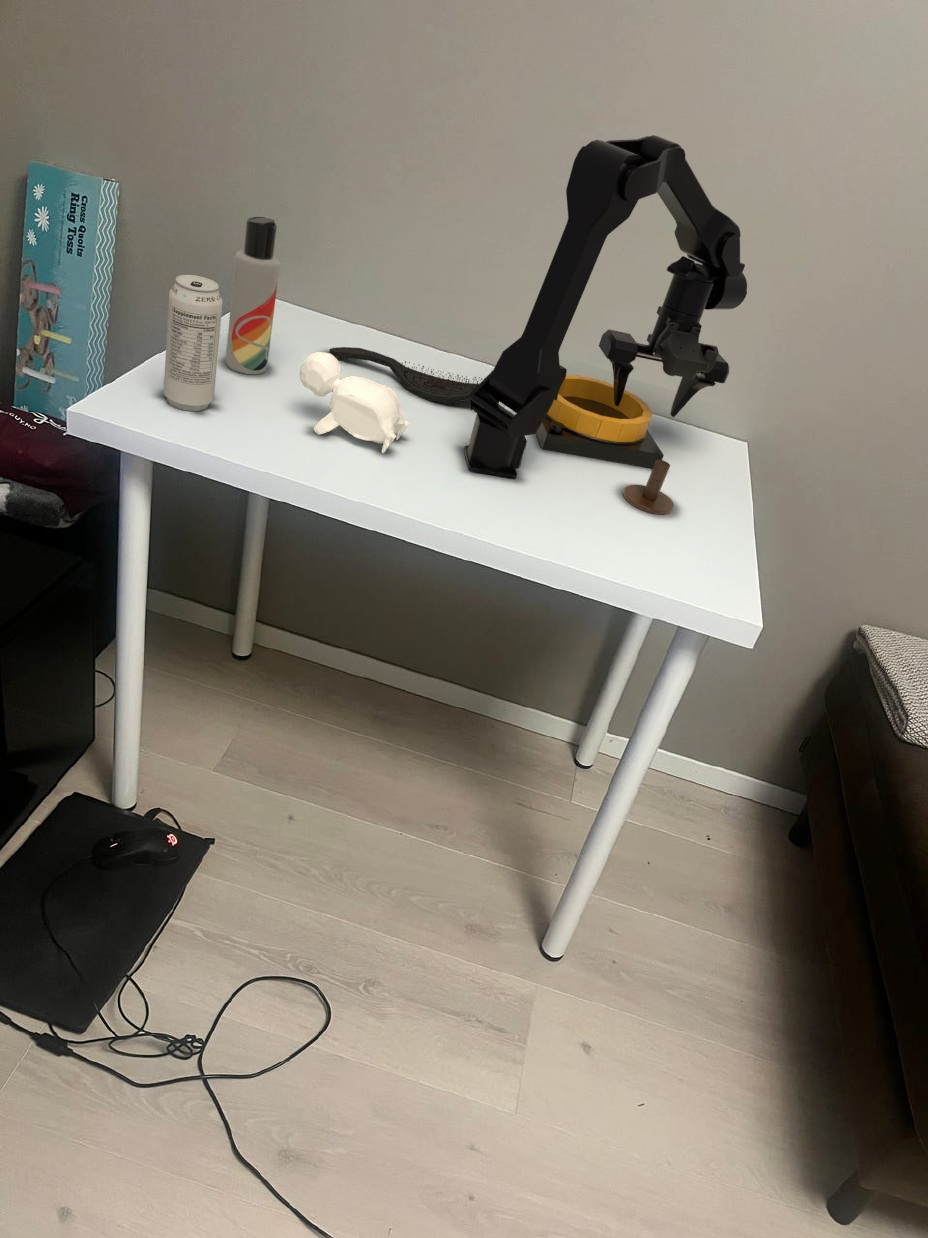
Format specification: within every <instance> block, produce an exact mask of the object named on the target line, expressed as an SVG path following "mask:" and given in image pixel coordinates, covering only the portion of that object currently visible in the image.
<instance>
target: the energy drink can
mask: <svg viewBox="0 0 928 1238" xmlns="http://www.w3.org/2000/svg"><path fill="white" fill-rule="evenodd" d="M219 288H220V286H219V284H218V283H217V282H216V281H214V280H212V279H211V278H207V277H204V276H201V275H200V276H199V275H194V274H193V275H192V274H181V275H177V276H176V277H175V283H174V285H172V287H171V288H170V290H169V292H168V294H169V296H168V308H167V309H168V310H167V325H166V327H167V328H166V341H165V342H166V343H165V361H164V376H163V377H164V378H163V395H164V396H165V397H166V398H167V402H168V403H169V404H170V406H172V407H175V408H177V409H180V410H182V411H187V412H188V411H189V412H199V411H200V412H201V411H204V410H206V409H208V407H209V405H210V404H211V403H213V402H214V399H215V390H216V389H215V388H216V379H217V369H218V359H219V358H218V357H219V347H220V335H221V325H222V313H223V304H224V303H223V298H222V296H221V293H220V291H219Z"/></svg>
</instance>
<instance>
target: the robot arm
mask: <svg viewBox="0 0 928 1238" xmlns="http://www.w3.org/2000/svg"><path fill="white" fill-rule="evenodd" d="M655 194H657V195H658V196H659V197H660V199H661V201H662V203H663V204H664V206H665V207H666V209H667V210H668V212H669V213H670V215H671V217H672V218H673V219H674V221H675V225H676V227H675V229H674V237H675V239H676V242H677V245H678V248H679V249H680V252H682V253H684V254H686V256H687V257H686V256H685V255H684V256H683V255H682V256H681V257H680V258H679V259H678V260H676V261H673V262H671V264H669V265H668V266H667V267H666V271H667V272H668V273H671V274H672V278H671V281H670V283H669V284H670V285H669V286H668V289H667V292H666V295H665V296H664V297H665V298H664V299H663V302H662V305H658V308H657V310H656V314H657V315H658V317H657V319H656V322H655V325H654V327H653V331H652V333H648V335H647V337H646V342H648V343H647V344H644V343H639V342H637V341H636V340H635V338H634V337H633V336H632V334H631V333H629V332H625V331H624V332H623V331H618V330H614V329H610V328H608V329H607V330H606V331H605V332H603V334H602V335H601V338H600V341H599V343H598V347H599V349H600V350H601V352H602V354H603V355H604V357H605V358H606V359H607V360H609V362H610V363H611V365H612V366H611V367H612V374H613V385H614V404H615V405H616V406H619V404H620V402H621V399H622V397H623V393H624V390H626V386H627V382H628V378H629V376H630V374H631V373H632V372H633V370H635V367H634V366H633V364H632V363H633V362H634V361H636V359H637V358H640V359H645V360H648V361H649V360H651V361H655V362H660V363H662V370H663V372H664V373H665V374H666V375H667V376H670V377H675V376H676V377H681V380H680V382H679V385H678V387H677V391H676V393H675V397H674V399H673V402H672V405H671V409H670V414H669V415H670V416H671V417H672V418H675V417H676V416H677V415H679V413H680V412H681V410H682V409H683V408H684V407H685V406H686V405H687V403H688V402H689V401H690V400H691V399H692V398H693V397H694V396H695V395H696V394H697V393H698V392H699V391H701V390H702V389H705V388H707V387H714V386H716V385H717V384H718V383H719V384H726V381H727V380H728V377H729V374H730V365H729V363H728V362H727V360H726V359H724V357H723V356H722V355H721V354H720V351H719V348H718V346H717V345H712V344H708V343H702V342H699V340H700V334H701V332H702V327H703V325H701V323H700V321H701V319H702V317H703V314H704V311H705V310H707V311H709V310H710V311H712V310H713V311H715V310H733V309H735V308H738V307H739V306H740V305H741V304H742V303H743V302H744V301H745V299H746V297H747V294H748V291H747V290H748V282H747V278H746V276H745V274H744V273H743V271H744V270H745V267H746V264H745V263H743V262H741V229H740V226H739V225H738V223H736V222H735V221H734V220H733V219H732V218H731V217H729V216H728V215H727V214H726V213H724V212H722V211H721V210H719V209H718V208H716V207H715V206H714V205H713V204H712V202H711V200H710V198H709V197H708V195H707V193H706V192H705V190H704V188H703V186H702V185H701V183H700V181H699V180H698V178H697V175H696V174H695V173H694V171H693V169H692V167H691V166H690V164H689V162H688V160H687V159H686V152H685V149H684V148H683V147H682V146H681V145H680V144H679V143H677V142H674V141H671V140H670V139H669V140H668V139H666V138H664V137H661V136H658V135H653V134H652V135H646V136H643V137H640V138H635V139H634V138H633V139H613V140H606V141H604V140H602V139H601V140H600V139H595V140H592V141H589V143H588V144H586V145H585V146H584V145H583V146H581V148H579V150H578V151H577V154H576V156H575V158H574V160H573V164H572V166H571V170H570V174H569V177H568V181H567V185H566V189H565V195H566V196H565V197H566V208H567V221H566V223H565V227H564V229H563V231H562V234H561V236H560V239H559V241H558V244H557V247H556V249H555V252H554V254H553V257H552V259H551V262H550V265H549V267H548V269H547V272H546V275H545V277H544V278H543V282H542V284H541V287H540V289H539V292H538V294H537V297H536V299H535V302H534V304H533V307H532V310H531V311H530V315H529V317H528V319H527V321H526V324H525V327H524V330H523V332H522V334H521V336H520V337H519V338H518V339H516V340H515V341H514V342H513V343H511V344H510V345H509V346H508V347H506V348H505V349H503V351H502V353H501V354H500V357H499V358H498V360H497V362H496V364H495V366H494V368H493V369H492V370H491V372H490V373H489V374H487V376H485V377H484V378H485V379H484V378H483V380H481V381H482V382H481V381H480V382H479V383H478V384H479V385H478V386H477V387H476V388H475V389H474V390H473V391H472V392H471V393H470V394H469V395H468V400H467V405H468V409H469V410H470V411H473V412H474V413H476V415H475V419H474V423H473V426H472V430H471V433H470V438H469V442H468V445H465V446H464V448H463V452H464V456H465V459H466V460H465V461H466V463H467V467H468V470H469V471H472V472H476V473H482V474H487V475H493V476H499V477H505V478H511V479H516V478H517V477H518V471H517V470H518V469H519V468H520V467H521V463H522V460H523V457H524V453H525V451H526V447H527V443H528V440H527V438H526V436H534V435H536V432H537V431H538V429H539V427H540V425H541V424H542V422H543V420H544V418H545V417H546V415H547V413H548V411H549V409H550V408H551V406H552V404H553V401H554V400H557V398H558V393H559V390H560V387H561V385H562V383H563V381H564V379H565V378H566V375H567V372H568V368H566V367H564V366H562V365H561V363H560V354H559V352H560V350H561V347H562V344H563V342H564V340H565V337H566V335H567V332H568V330H569V327H570V326H571V323H572V320H573V318H574V316H575V313H576V311H577V309H578V306H579V304H580V301H581V299H582V297H583V294H584V292H585V290H586V287H587V285H588V282H589V280H590V277H591V275H592V272H593V271H594V268H595V265H596V263H597V261H598V258H599V256H600V254H601V251H602V250H603V247H604V244H605V242H606V240H607V237H608V236H609V235H610V234H611V233H612V232H613V231H615V230H616V229H617V228H618V227H619V226H621V225H622V224H623V223H625V221H627V220H628V219H629V218H630V216H631V215H632V213H633V211H634V210H635V207H636V206H637V203H638V202H639V200H641V199H644V198H646V197H647V198H648V197H649V196H652V195H655ZM499 403H500V404H499ZM501 404H502V405H504V407H503V406H502V405H501ZM505 407H507V408H505ZM508 409H510V410H511V411H513V412H514V413H515V414H514V413H513V412H511V411H509V410H508Z"/></svg>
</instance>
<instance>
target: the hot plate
mask: <svg viewBox="0 0 928 1238" xmlns="http://www.w3.org/2000/svg"><path fill="white" fill-rule="evenodd" d="M563 398H564V399H565V400H567V401H568V402H570V403H572V404H574V405H576V406H578V407H580V408H582V409H584V410H586V411H589V412H592V413H595V414H598V415H601V416H606V417H611V418H617V419H629V418H628V417H627V416H626V415H624V414H623V413H621V412H619V411H617V410H615V409H613V408H611V407H610V406H608V405H605V404H602V403H599V402H596V401H593V400H589V399H583V398H578V397H563ZM535 435H536V437H537V439H538V442H539V445H540V447H541V449H542V450H547V451H550V452H551V451H552V452H558V453H563V454H569V455H572V456H573V455H574V456H580V457H585V458H591V459H597V460H601V461H608V462H613V463H619V464H625V465H629V466H630V465H631V466H636V467H641V468H646V469H653V467H654V464H655V462H656V460H663V459H664V457H665V454H664V453H663V452H662V450H661V448H660V446H658V445H659V444H657V442H656V441H655V439H654V437H653V436H652V435H651V433H650V431H649V430H648V429H647V431H646V433H645V436H644V438H642V439H639V440H637V441H634V442H613V441H608V440H602V439H597V438H593V437H590V436H588V435H585V434H582V433H579V432H576V431H573V430H571V429H569V428H567V427H565V425H564V424H562V423H560V422H557V421H555V420H554V419H552V418H551V417H550V416H549V415H548V414H547V415H546V417H545V418H544V420H543V422H542V424H541V425H540V427H539V429H538V431H537V432H536V434H535Z"/></svg>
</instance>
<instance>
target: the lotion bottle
mask: <svg viewBox="0 0 928 1238" xmlns="http://www.w3.org/2000/svg"><path fill="white" fill-rule="evenodd" d="M277 228H278V227H277V224H276V223H275V219H272V218H269V217H264V216H252V217H249V218H247V219H246V224H245V233H244V234H245V236H244V245H243V249H241V250H238V251H237V252H236V254H235V259H234V269H233V278H232V288H231V298H230V310H229V318H228V319H229V320H228V330H227V339H226V349H225V350H226V352H225V365H226V366H227V367H228V368H229V369H231V370H233V371H234V372H238V373H241V374H245V375H246V374H247V375H261V374H263V373H265V372H266V370H267V368H268V362H269V355H270V347H271V341H272V340H271V339H272V331H273V323H274V317H275V308H276V299H277V298H276V297H277V291H278V282H279V273H280V265H281V263H280V260H279V258H278V257H276V256H274V253H275V244H276V237H277Z"/></svg>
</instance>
